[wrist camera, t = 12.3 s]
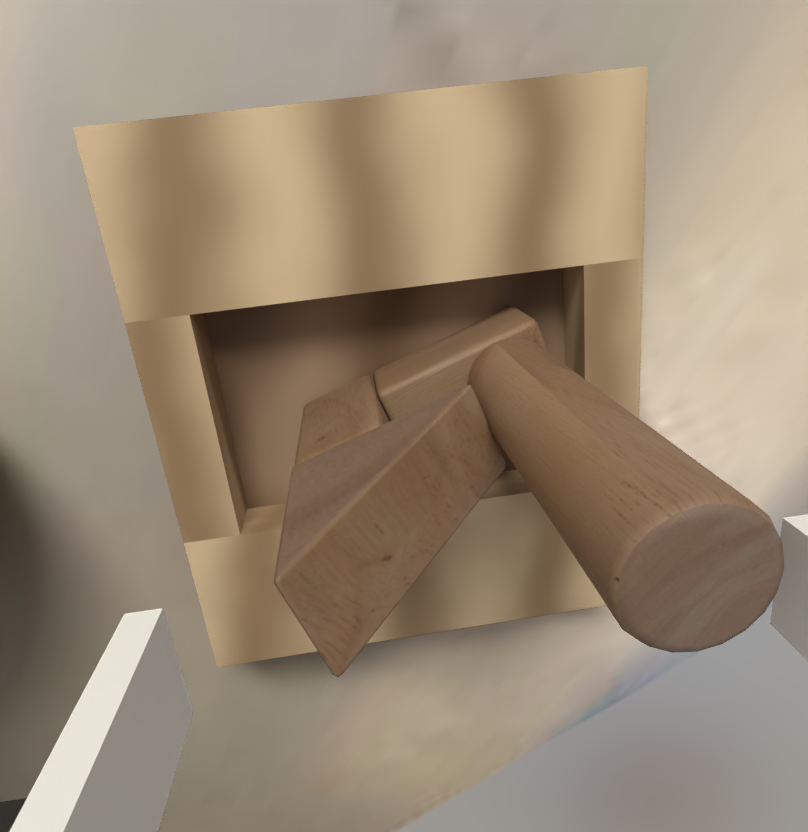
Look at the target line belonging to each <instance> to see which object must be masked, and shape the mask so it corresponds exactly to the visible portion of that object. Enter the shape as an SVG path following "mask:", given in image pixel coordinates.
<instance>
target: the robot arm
mask: <svg viewBox="0 0 808 832" xmlns="http://www.w3.org/2000/svg"><path fill="white" fill-rule="evenodd" d="M780 540H781V542H782V544H783V554H784V571H783V575H782V578H781V582H780V585H779V589H778V591H777V593H776V595H775V596H774V598H773V606H772V615H771V625H772V626H774V627H775V629H776V630H777V631H778V632H779V633H780V634H781V635H782V636H783V637H784V638H785V639H786V640H787V641H788V642H789V643H790V644H791V645H792V646H793V647H794V648H795V649H796V650H797V651H798V652H799V653H800V654H801V655H802V656H803V657H804V658H805V659H806V660H807V661H808V514H807V515H800V516H793V517H787V518H783V522H782V530H781V539H780ZM192 715H193V709H192V706H191V703H190V699H189V696H188V693H187V689H186V686H185V682H184V679H183V676H182V672H181V669H180V666H179V662H178V659H177V655H176V652H175V649H174V645H173V642H172V638H171V635H170V632H169V628H168V625H167V622H166V618H165V615H164V611H163V608H161V609H154V610H147V611H140V612H133V613H127V614H124V616H123V618H122V619H121V621H120V623H119V625H118V627H117V629H116V631H115V633H114V635H113V637H112V638H111V640H110V642H109V644H108V646H107V648H106V650H105V652H104V654H103V655H102V657H101V659H100V661H99V663H98V665H97V667H96V669H95V671H94V672H93V674H92V676H91V678H90V680H89V682H88V684H87V686H86V688H85V689H84V691H83V693H82V695H81V697H80V699H79V701H78V703H77V705H76V706H75V708H74V710H73V712H72V714H71V716H70V718H69V720H68V722H67V724H66V725H65V727H64V729H63V731H62V733H61V735H60V737H59V739H58V741H57V742H56V744H55V746H54V748H53V750H52V752H51V754H50V756H49V758H48V759H47V761H46V763H45V765H44V767H43V769H42V771H41V773H40V775H39V776H38V778H37V780H36V782H35V784H34V786H33V788H32V790H31V792H30V793H29V795H28V797H27V798H25V799H18V800H12V801H6V802H0V832H158V830H159V827H160V823H161V820H162V816H163V813H164V810H165V806H166V803H167V799H168V796H169V793H170V789H171V786H172V782H173V779H174V776H175V772H176V769H177V766H178V762H179V759H180V755H181V752H182V749H183V745H184V742H185V738H186V735H187V732H188V728H189V725H190V721H191V718H192Z"/></svg>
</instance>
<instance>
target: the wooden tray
mask: <svg viewBox="0 0 808 832" xmlns="http://www.w3.org/2000/svg"><path fill="white" fill-rule="evenodd" d="M646 109H647V66H642V67H633V68H624V69H614V70H605V71H596V72H586V73H577V74H568V75H558V76H549V77H540V78H530V79H521V80H512V81H502V82H493V83H484V84H474V85H465V86H456V87H446V88H437V89H428V90H418V91H409V92H400V93H390V94H381V95H372V96H362V97H353V98H344V99H334V100H325V101H316V102H306V103H297V104H288V105H278V106H269V107H260V108H250V109H241V110H232V111H222V112H213V113H204V114H194V115H185V116H176V117H166V118H157V119H148V120H138V121H129V122H120V123H110V124H101V125H92V126H82V127H73V131H74V135H75V139H76V142H77V146H78V150H79V153H80V157H81V161H82V165H83V168H84V172H85V176H86V180H87V183H88V187H89V191H90V195H91V198H92V202H93V206H94V209H95V213H96V217H97V221H98V224H99V228H100V232H101V236H102V239H103V243H104V247H105V250H106V254H107V258H108V262H109V265H110V269H111V273H112V277H113V280H114V284H115V288H116V291H117V295H118V299H119V303H120V306H121V310H122V314H123V318H124V321H125V325H126V329H127V333H128V336H129V340H130V344H131V347H132V351H133V355H134V359H135V362H136V366H137V370H138V374H139V377H140V381H141V385H142V388H143V392H144V396H145V400H146V403H147V407H148V411H149V415H150V418H151V422H152V426H153V429H154V433H155V437H156V441H157V444H158V448H159V452H160V456H161V459H162V463H163V467H164V471H165V474H166V478H167V482H168V485H169V489H170V493H171V497H172V500H173V504H174V508H175V512H176V515H177V519H178V523H179V526H180V530H181V534H182V538H183V541H184V545H185V549H186V553H187V556H188V560H189V564H190V567H191V571H192V575H193V579H194V582H195V586H196V590H197V594H198V597H199V601H200V605H201V609H202V612H203V616H204V620H205V623H206V627H207V631H208V635H209V638H210V642H211V646H212V650H213V653H214V657H215V661H216V664H217V667H222V666H229V665H235V664H241V663H247V662H254V661H260V660H266V659H272V658H279V657H285V656H291V655H298V654H304V653H310V652H316V651H317V649H316V647H315V646H314V644H313V643H312V641H311V640H310V638H309V637H308V635H307V634H306V632H305V631H304V629H303V627H302V626H301V624H300V623H299V621H298V620H297V618H296V617H295V615H294V614H293V612H292V611H291V609H290V607H289V606H288V604H287V603H286V601H285V600H284V598H283V597H282V595H281V594H280V592H279V590H278V589H277V587H276V586H275V584H274V574H275V568H276V562H277V556H278V550H279V544H280V538H281V532H282V526H283V520H284V514H285V508H286V502H287V496H288V490H289V484H290V478H291V472H292V468H293V467H294V466H295V465H294V464H295V458H296V451H297V445H298V439H299V433H300V427H301V421H302V414H303V408H304V406H305V405H306V404H307V403H308V402H310V401H312V400H314V399H317V398H319V397H321V396H323V395H325V394H327V393H329V392H331V391H333V390H335V389H338V388H340V387H342V386H344V385H346V384H348V383H350V382H352V381H354V380H356V379H359V378H361V377H363V376H371V377H372V378H373V379H374V373H375V372H376V370H378V369H380V368H382V367H384V366H386V365H388V364H390V363H392V362H395V361H397V360H399V359H401V358H403V357H405V356H407V355H409V354H411V353H413V352H416V351H418V350H420V349H422V348H424V347H426V346H428V345H430V344H432V343H435V342H437V341H439V340H441V339H443V338H445V337H447V336H449V335H451V334H453V333H456V332H458V331H460V330H462V329H464V328H466V327H468V326H470V325H472V324H474V323H477V322H479V321H481V320H483V319H485V318H487V317H489V316H491V315H493V314H495V313H498V312H500V311H502V310H504V309H506V308H508V307H515V308H517V309H518V310H520V311H522V312H523V313H525V314H527V315H528V316H530V317H531V318H533V319H534V320H535V321H536V322H537V323H538V325H539V328H540V330H541V333H542V335H543V338H544V341H545V343H546V346H547V348H548V351H549V353H550V354H551V355H552V356H554V357H555V358H556V359H558V360H559V361H561V362H562V363H563V364H565V365H566V366H567V367H569V368H570V369H571V370H573V371H574V372H576V373H577V374H578V375H580V376H581V377H582V378H584V379H585V380H586V381H588V382H589V383H591V384H592V385H593V386H595V387H596V388H597V389H599V390H600V391H601V392H603V393H604V394H606V395H607V396H608V397H610V398H611V399H612V400H614V401H615V402H616V403H618V404H619V405H621V406H622V407H623V408H625V409H626V410H627V411H629V412H630V413H632V414H633V415H634V416H636V417H637V418H638V419H639V404H640V362H641V320H642V277H643V235H644V193H645V151H646ZM493 435H494V434H493ZM494 438H495V440H496V442H497V444H498V447H499V449H500V451H501V454H502V456H503V458H504V460H505V463H506V466H505V469H504V470H503V471H502V473H501V474H500V475H499V476H498V478H497V479H496V480H495V481H494V483H493V484H492V485H491V486H490V488H489V489H488V490H487V492H486V493H485V494H484V495H483V497H482V498H481V499H480V500H479V502H478V503H477V504H476V505H475V507H474V508H473V509H472V510H471V512H470V513H469V514H468V516H467V517H466V518H465V519H464V521H463V522H462V523H461V524H460V526H459V527H458V528H457V529H456V531H455V532H454V533H453V535H452V536H451V537H450V538H449V540H448V541H447V542H446V543H445V545H444V546H443V547H442V548H441V550H440V551H439V552H438V554H437V555H436V556H435V557H434V559H433V560H432V561H431V562H430V564H429V565H428V566H427V567H426V569H425V570H424V571H423V573H422V574H421V575H420V576H419V578H418V579H417V580H416V581H415V583H414V584H413V585H412V586H411V588H410V589H409V590H408V592H407V593H406V594H405V595H404V597H403V598H402V599H401V600H400V602H399V603H398V604H397V605H396V607H395V608H394V609H393V611H392V612H391V613H390V614H389V616H388V617H387V618H386V619H385V621H384V622H383V623H382V624H381V626H380V627H379V628H378V630H377V631H376V632H375V633H374V635H373V636H372V637H371V638H370V640H369V641H368V642H367V643H373V642H379V641H385V640H392V639H398V638H404V637H411V636H417V635H423V634H429V633H436V632H442V631H448V630H455V629H461V628H467V627H473V626H480V625H486V624H492V623H498V622H505V621H511V620H517V619H524V618H530V617H536V616H542V615H549V614H555V613H561V612H568V611H574V610H580V609H586V608H593V607H599V606H605V605H606V604H605V602H604V601H603V599H602V598H601V596H600V595H599V593H598V591H597V590H596V588H595V587H594V585H593V584H592V582H591V581H590V579H589V578H588V576H587V575H586V573H585V572H584V570H583V569H582V567H581V566H580V564H579V563H578V561H577V560H576V558H575V557H574V555H573V554H572V552H571V551H570V549H569V548H568V546H567V545H566V543H565V542H564V540H563V539H562V537H561V536H560V534H559V532H558V531H557V529H556V528H555V526H554V525H553V523H552V522H551V520H550V519H549V517H548V516H547V514H546V513H545V511H544V510H543V508H542V507H541V505H540V504H539V502H538V501H537V499H536V498H535V496H534V495H533V493H532V492H531V490H530V489H529V487H528V486H527V484H526V483H525V481H524V480H523V478H522V477H521V475H520V473H519V472H518V470H517V469H516V467H515V466H514V464H513V463H512V461H511V460H510V458H509V457H508V455H507V454H506V452H505V451H504V449H503V448H502V446H501V445H500V443H499V442H498V440H497V439H496V437H495V436H494ZM367 643H366V644H367Z"/></svg>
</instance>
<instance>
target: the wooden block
mask: <svg viewBox="0 0 808 832" xmlns="http://www.w3.org/2000/svg"><path fill="white" fill-rule="evenodd" d="M493 434H494V435H493ZM494 436H495V437H496V439H497V440H498V442H499V443H500V445H501V446H502V448H503V449H504V451H505V452H506V454H507V455H508V457H509V458H510V460H511V461H512V463H513V464H514V466H515V467H516V469H517V470H518V472H519V473H520V475H521V477H522V478H523V480H524V481H525V483H526V484H527V486H528V487H529V489H530V490H531V492H532V493H533V495H534V496H535V498H536V499H537V501H538V502H539V504H540V505H541V507H542V508H543V510H544V511H545V513H546V514H547V516H548V517H549V519H550V520H551V522H552V523H553V525H554V526H555V528H556V529H557V531H558V532H559V534H560V536H561V537H562V539H563V540H564V542H565V543H566V545H567V546H568V548H569V549H570V551H571V552H572V554H573V555H574V557H575V558H576V560H577V561H578V563H579V564H580V566H581V567H582V569H583V570H584V572H585V573H586V575H587V576H588V578H589V579H590V581H591V582H592V584H593V585H594V587H595V588H596V590H597V591H598V593H599V595H600V596H601V598H602V599H603V601H604V602H605V604H606V605H607V607H608V608H609V610H610V611H611V613H612V614H613V616H614V617H615V619H616V620H617V622H618V623H619V625H620V626H621V628H622V629H623V630H624V631H626V632H627V633H629V634H630V635H632V636H633V637H635V638H636V639H638V640H639V641H641V642H642V643H644V644H646V645H648V646H650V647H653V648H657V649H661V650H665V651H669V652H694V651H700V650H703V649H707V648H710V647H713V646H716V645H720V644H723V643H724V642H726V641H728V640H730V639H731V638H733V637H735V636H736V635H738V634H740V633H742V632H743V631H745V630H746V629H747V628H748V627H749V626H750V625H751V624H752V623H754V621H756V620H757V618H759V617H760V616H761V615H762V614H763V613H764V612H765V610H766V609H767V607H768V606H769V604H770V603H771V601H772V599H773V598H774V596H775V595H776V593H777V591H778V589H779V585H780V582H781V578H782V575H783V571H784V554H783V544H782V542H781V540H780V537H779V535H778V533H777V531H776V529H775V527H774V525H773V523H772V521H771V519H770V517H769V516H768V515H767V514H766V513H765V512H764V511H762V510H761V509H760V508H759V507H758V506H756V505H755V504H754V503H753V502H752V501H750V500H749V499H748V498H746V497H745V496H743V495H742V494H741V493H739V492H738V491H737V490H735V489H734V488H733V487H731V486H730V485H728V484H727V483H726V482H724V481H723V480H722V479H720V478H719V477H718V476H716V475H715V474H713V473H712V472H711V471H709V470H708V469H707V468H705V467H704V466H702V465H701V464H700V463H698V462H697V461H696V460H694V459H693V458H692V457H690V456H689V455H687V454H686V453H685V452H683V451H682V450H681V449H679V448H678V447H677V446H675V445H674V444H672V443H671V442H670V441H668V440H667V439H666V438H664V437H663V436H662V435H660V434H659V433H657V432H656V431H655V430H653V429H652V428H651V427H649V426H648V425H647V424H645V423H644V422H642V421H641V420H640V419H638V418H637V417H636V416H634V415H633V414H632V413H630V412H629V411H627V410H626V409H625V408H623V407H622V406H621V405H619V404H618V403H616V402H615V401H614V400H612V399H611V398H610V397H608V396H607V395H606V394H604V393H603V392H601V391H600V390H599V389H597V388H596V387H595V386H593V385H592V384H591V383H589V382H588V381H586V380H585V379H584V378H582V377H581V376H580V375H578V374H577V373H576V372H574V371H573V370H571V369H570V368H569V367H567V366H566V365H565V364H563V363H562V362H561V361H559V360H558V359H556V358H555V357H554V356H552V355H551V354H550V353H549V351H548V348H547V346H546V343H545V341H544V338H543V335H542V333H541V330H540V328H539V325H538V323H537V322H536V321H535V320H534V319H533V318H531V317H530V316H528V315H527V314H525V313H523V312H522V311H520V310H518V309H517V308H515V307H508V308H506V309H504V310H502V311H500V312H498V313H495V314H493V315H491V316H489V317H487V318H485V319H483V320H481V321H479V322H477V323H474V324H472V325H470V326H468V327H466V328H464V329H462V330H460V331H458V332H456V333H453V334H451V335H449V336H447V337H445V338H443V339H441V340H439V341H437V342H435V343H432V344H430V345H428V346H426V347H424V348H422V349H420V350H418V351H416V352H413V353H411V354H409V355H407V356H405V357H403V358H401V359H399V360H397V361H395V362H392V363H390V364H388V365H386V366H384V367H382V368H380V369H378V370H376V372H375V373H374V379H373V378H372V377H371V376H363V377H361V378H359V379H356V380H354V381H352V382H350V383H348V384H346V385H344V386H342V387H340V388H338V389H335V390H333V391H331V392H329V393H327V394H325V395H323V396H321V397H319V398H317V399H314V400H312V401H310V402H308V403H307V404H306V405H305V406H304V408H303V414H302V421H301V427H300V433H299V439H298V445H297V451H296V458H295V464H294V465H295V466H294V467H293V468H292V472H291V478H290V484H289V490H288V496H287V502H286V508H285V514H284V520H283V526H282V532H281V538H280V544H279V550H278V556H277V562H276V568H275V574H274V584H275V586H276V587H277V589H278V590H279V592H280V594H281V595H282V597H283V598H284V600H285V601H286V603H287V604H288V606H289V607H290V609H291V611H292V612H293V614H294V615H295V617H296V618H297V620H298V621H299V623H300V624H301V626H302V627H303V629H304V631H305V632H306V634H307V635H308V637H309V638H310V640H311V641H312V643H313V644H314V646H315V647H316V649H317V651H318V652H319V654H320V655H321V657H322V658H323V660H324V661H325V663H326V664H327V666H328V667H329V669H330V671H331V672H332V674H333V675H334V676H336V677H339V676H340V675H342V674H343V673H344V671H345V670H346V669H347V668H348V666H349V665H350V664H351V662H352V661H353V660H354V659H355V657H356V656H357V655H358V654H359V652H360V651H361V650H362V649H363V647H364V646H365V645H366V643H367V642H368V641H369V640H370V638H371V637H372V636H373V635H374V633H375V632H376V631H377V630H378V628H379V627H380V626H381V624H382V623H383V622H384V621H385V619H386V618H387V617H388V616H389V614H390V613H391V612H392V611H393V609H394V608H395V607H396V605H397V604H398V603H399V602H400V600H401V599H402V598H403V597H404V595H405V594H406V593H407V592H408V590H409V589H410V588H411V586H412V585H413V584H414V583H415V581H416V580H417V579H418V578H419V576H420V575H421V574H422V573H423V571H424V570H425V569H426V567H427V566H428V565H429V564H430V562H431V561H432V560H433V559H434V557H435V556H436V555H437V554H438V552H439V551H440V550H441V548H442V547H443V546H444V545H445V543H446V542H447V541H448V540H449V538H450V537H451V536H452V535H453V533H454V532H455V531H456V529H457V528H458V527H459V526H460V524H461V523H462V522H463V521H464V519H465V518H466V517H467V516H468V514H469V513H470V512H471V510H472V509H473V508H474V507H475V505H476V504H477V503H478V502H479V500H480V499H481V498H482V497H483V495H484V494H485V493H486V492H487V490H488V489H489V488H490V486H491V485H492V484H493V483H494V481H495V480H496V479H497V478H498V476H499V475H500V474H501V473H502V471H503V470H504V469H505V466H506V463H505V460H504V458H503V456H502V454H501V451H500V449H499V447H498V444H497V442H496V440H495V438H494Z"/></svg>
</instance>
